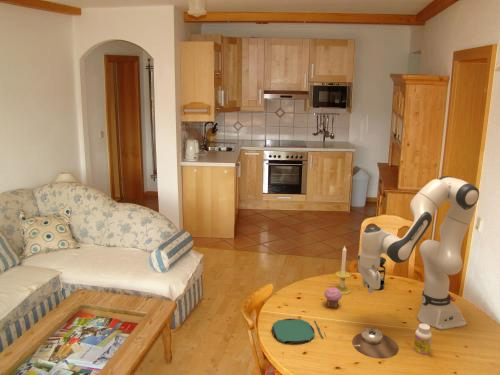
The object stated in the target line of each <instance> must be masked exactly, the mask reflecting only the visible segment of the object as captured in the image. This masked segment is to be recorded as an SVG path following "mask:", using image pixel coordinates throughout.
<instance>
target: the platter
mask: <svg viewBox="0 0 500 375" xmlns="http://www.w3.org/2000/svg"><path fill="white" fill-rule="evenodd" d="M361 337H362V332H361V333H358V334H355V336H353V338H352V340H351V342H352V343H351V344H352V346H353V348H354V349H355V350H356V351H357V352H359V353H360V354H362V355H364V356H366V357H369V358H373V359H380V360H381V359H383V360H385V359H390V358H393V357H395V356H397V355H398V353H399V351H400V348H399V347H400V346H399V345H398V343H397V342H396V341H395V340H394V339H393V338H391V337H390V336H387V335H385V334H383V335H382V342H381V343H380V344H377V345H371V344H368V343H365V342H364V341H363V340H362V338H361Z"/></svg>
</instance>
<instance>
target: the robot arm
mask: <svg viewBox="0 0 500 375" xmlns="http://www.w3.org/2000/svg"><path fill="white" fill-rule="evenodd" d="M479 199H480V191H479V189H478V188H477V187H476V186H475V185H474V184H472V183H469V182H467V181H465V180H463V179H460V178H455V177H453V176H450V175H449V176H448V175H444V176H440V177H439V178H435V179H434V178H433V179H432V180H430V181H429V182H427V184H425V185H424V186H423V187H422V188H421V189H420V190H419V191H418V192H417V193H416V194H415V195H414V197H413V198H412V199H411V201H410V204H409V209H410V212H411V214H412V216H413V223H412V225H411V226H410V227H409V229H408V230H407V231H406V233H405V235H404V236H403V237H401V238H400V237H399V236H398V235H396V234H395V233H393V232H391V231H386V230H384V229H382V228H381V227H380V226H377V225H371V226H367V227H366V228H364V229H363V232H362V236H361V241H360V242H361V244H360V246H361V250H360V251H361V252H360V253H358V254H357V271H358V273H359V274H360V276H362V286H363V287H365V288H367V292H368V294H371V295H372V294H373V292H374V290H373V289H380V274H381V273H379V272H378V268H381V267H380V257H382V254H383V255H386V256H387V257H388V258H389V259H390V260H391V261H392V262H394V263H397V264H401V263H404V262H407V261H408V260H409V259H410V257H412V256H411V255H413V254H412V253H413V251H414V249H415V247H416V245H417V244H418V243H419V241H420V240H421V239H422V237H423V236H424V234H426V231H427V230H428V228H429V227H430V225H431V223H432V221H433V216H434V214H435V213H436V212H437V210H438V209H439V208H441V206H442V204H443V203H444V202H446V201H448V202H450V207H449V208H448V210H447V212H446V214H445V216H444V218H443V219H442V220H443V221H442V222H441V224H440V227H439V230H438V231H439V236H440V237H439V238H440V239H439V241H437V240H434V239H426V240H424V241H422V242H421V243H420V245H419V254H420V255H421V258H422V264H423V270H424V286H423V290H422V294H421V305H420V308H419V311H418V313H417V316H416V317H417V319H418V320H419V322H421V324H427V325H429V326H430V327H433V328H436V329H438V330H442V331H443V330H449V329H453V328H454V329H456V328H461V327H466V326H467V321H466V319H465V318H464V317H463V315H462V311H461V309H460V308H459V307H458V306H457V305H456V304H455V303H454V302H455V301H456V298H455V297H454V296H451V294H450V293H449V290H450V283H451V282H450V278H449V276H453V275H456V274H459V272H460V271H461V270H462V269H463V263H464V262H463V259H462V255H461V254H462V245H463V241H464V238H465V235H466V234H467V231H468V229H469V226H470V225H471V222H472V220H473V217H474V215H475V211H476V204H477V202H478V200H479ZM448 275H449V276H448ZM368 285H369V288H368V287H367V286H368Z"/></svg>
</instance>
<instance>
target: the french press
mask: <svg viewBox="0 0 500 375" xmlns="http://www.w3.org/2000/svg"><path fill="white" fill-rule="evenodd" d="M386 262H387V259H386V258H385V257H383V256H381V257H380V267H379V268H382V270H378V269H377V270H378V272H379V273H380V289H373V291H383V290H384V289H385V278H386V266H384V265H385V264H386ZM381 273H383V274H381ZM366 288H367V289H369V285H368V286H367V287H366Z"/></svg>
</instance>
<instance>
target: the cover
mask: <svg viewBox="0 0 500 375" xmlns="http://www.w3.org/2000/svg"><path fill="white" fill-rule="evenodd" d="M361 333H362V337H361V338H362V340H363V341H364V342H365V343H368V344H371V345H377V344H380V343H381V342H382V335H384V334H383V332H382V331H381V330H379V329H378V328H376V327H366V328H365V327H364V328H363V329H362V330H361Z"/></svg>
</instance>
